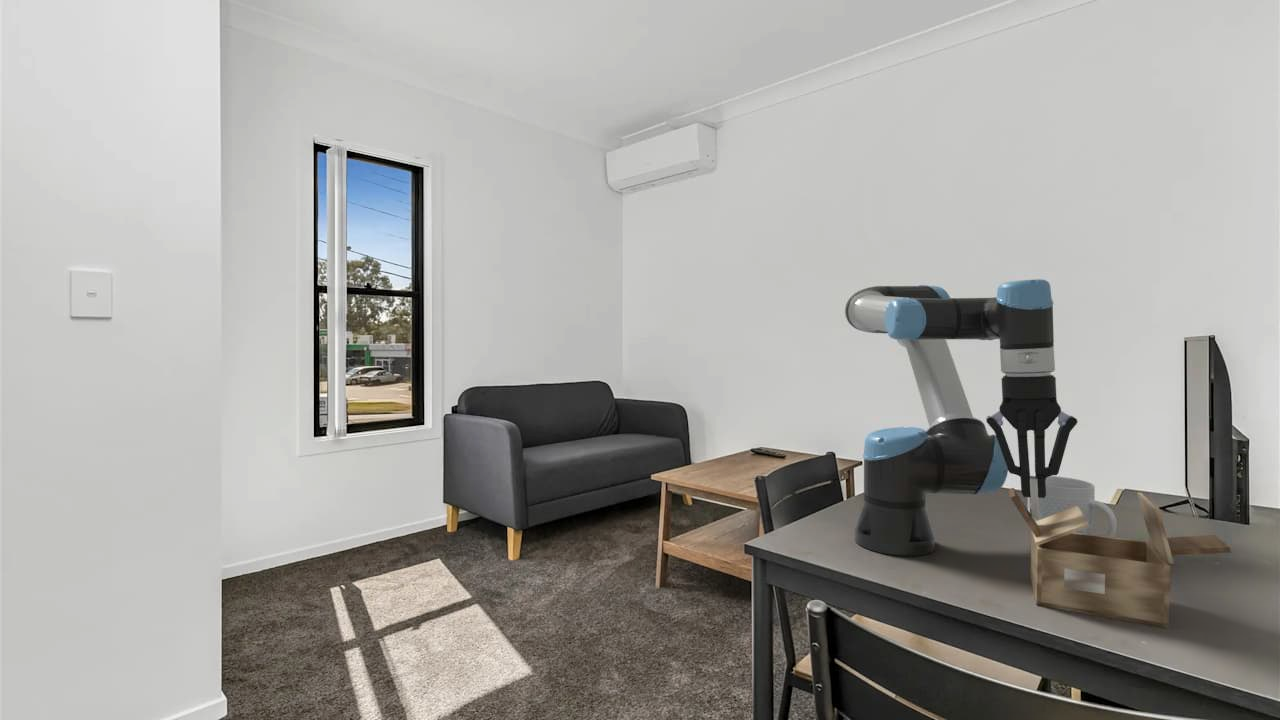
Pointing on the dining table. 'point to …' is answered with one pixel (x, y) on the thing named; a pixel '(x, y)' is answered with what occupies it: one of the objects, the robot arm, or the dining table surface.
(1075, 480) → the mug
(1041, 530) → the left flap
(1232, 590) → the dining table surface
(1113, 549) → the carton
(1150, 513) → the right flap
